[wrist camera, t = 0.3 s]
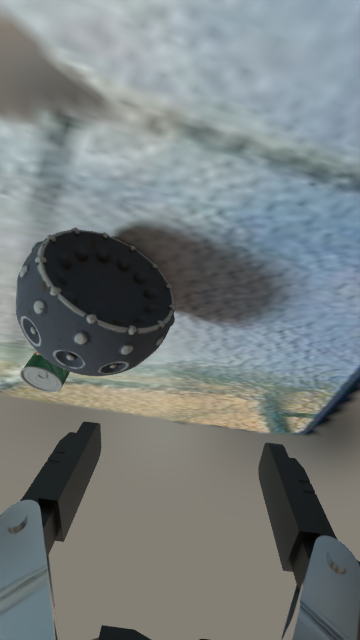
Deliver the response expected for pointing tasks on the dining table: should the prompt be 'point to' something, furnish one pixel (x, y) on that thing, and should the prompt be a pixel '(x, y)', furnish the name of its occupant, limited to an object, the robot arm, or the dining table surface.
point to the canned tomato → (43, 374)
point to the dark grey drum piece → (92, 303)
